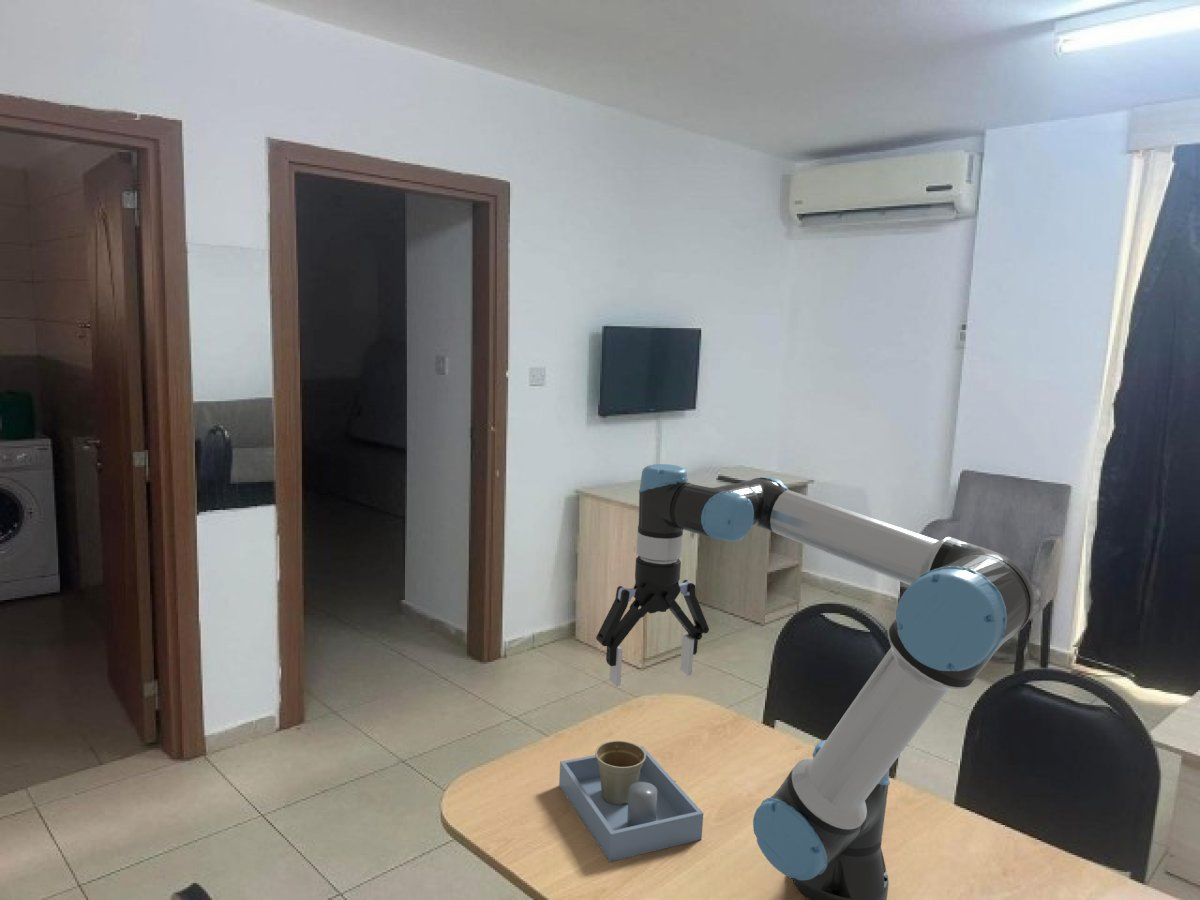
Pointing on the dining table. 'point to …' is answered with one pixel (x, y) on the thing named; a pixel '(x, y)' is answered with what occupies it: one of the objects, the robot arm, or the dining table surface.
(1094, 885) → the dining table surface
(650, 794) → the canister
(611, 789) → the flower pot
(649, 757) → the tote
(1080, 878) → the dining table surface
